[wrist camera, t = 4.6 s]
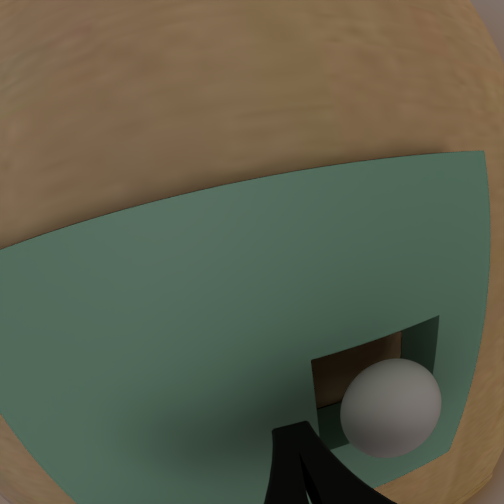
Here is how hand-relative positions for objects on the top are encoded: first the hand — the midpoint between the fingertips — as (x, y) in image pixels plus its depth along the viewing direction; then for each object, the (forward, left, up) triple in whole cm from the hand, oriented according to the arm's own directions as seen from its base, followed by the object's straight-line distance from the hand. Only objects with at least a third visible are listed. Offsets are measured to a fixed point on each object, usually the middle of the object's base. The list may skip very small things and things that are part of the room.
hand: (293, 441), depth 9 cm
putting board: (0, +2, -4) cm, 5 cm away
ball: (0, -4, 0) cm, 4 cm away
